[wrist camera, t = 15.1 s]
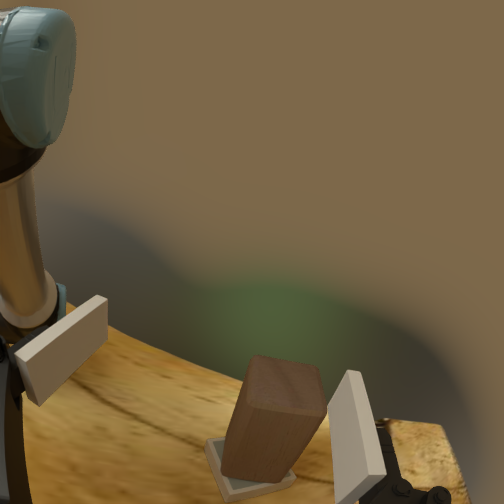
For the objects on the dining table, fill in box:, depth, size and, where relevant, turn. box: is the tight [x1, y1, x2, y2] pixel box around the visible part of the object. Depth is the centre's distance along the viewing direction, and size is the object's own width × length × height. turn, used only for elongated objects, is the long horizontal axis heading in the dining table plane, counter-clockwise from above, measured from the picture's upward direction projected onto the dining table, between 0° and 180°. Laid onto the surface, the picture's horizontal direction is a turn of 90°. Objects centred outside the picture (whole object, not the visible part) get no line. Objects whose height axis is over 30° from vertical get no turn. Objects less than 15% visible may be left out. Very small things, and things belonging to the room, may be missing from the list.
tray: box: [204, 437, 297, 503], centre depth 40 cm, size 12×12×4 cm
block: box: [220, 355, 327, 484], centre depth 37 cm, size 10×10×20 cm
